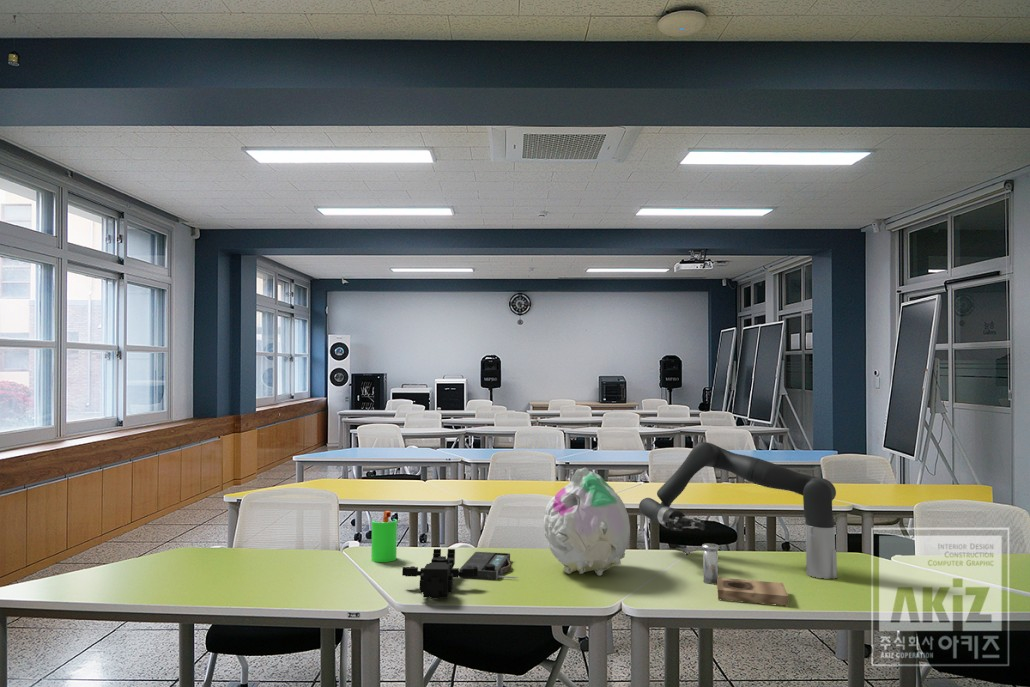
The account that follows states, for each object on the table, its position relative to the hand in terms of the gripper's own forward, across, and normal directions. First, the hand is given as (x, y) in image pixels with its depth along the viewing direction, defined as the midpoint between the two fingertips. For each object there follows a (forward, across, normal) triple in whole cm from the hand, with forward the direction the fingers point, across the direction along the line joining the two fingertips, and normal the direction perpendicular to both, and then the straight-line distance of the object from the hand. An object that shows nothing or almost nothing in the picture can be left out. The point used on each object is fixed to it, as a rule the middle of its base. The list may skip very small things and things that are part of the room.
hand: (693, 527), depth 233 cm
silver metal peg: (+12, 0, +15) cm, 19 cm away
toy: (0, -89, +17) cm, 91 cm away
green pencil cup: (-39, -104, +17) cm, 113 cm away
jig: (+28, +5, +15) cm, 32 cm away
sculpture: (-9, -36, +16) cm, 41 cm away
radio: (-18, -67, +17) cm, 71 cm away
